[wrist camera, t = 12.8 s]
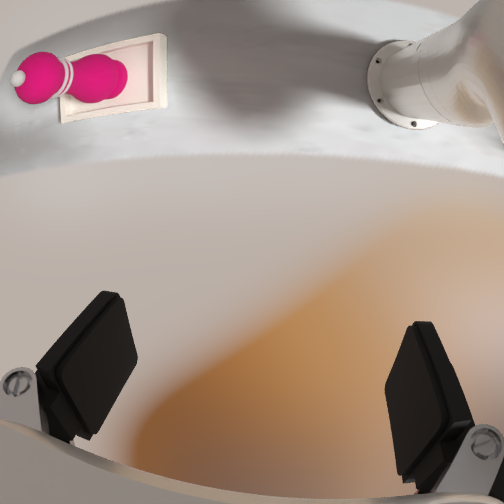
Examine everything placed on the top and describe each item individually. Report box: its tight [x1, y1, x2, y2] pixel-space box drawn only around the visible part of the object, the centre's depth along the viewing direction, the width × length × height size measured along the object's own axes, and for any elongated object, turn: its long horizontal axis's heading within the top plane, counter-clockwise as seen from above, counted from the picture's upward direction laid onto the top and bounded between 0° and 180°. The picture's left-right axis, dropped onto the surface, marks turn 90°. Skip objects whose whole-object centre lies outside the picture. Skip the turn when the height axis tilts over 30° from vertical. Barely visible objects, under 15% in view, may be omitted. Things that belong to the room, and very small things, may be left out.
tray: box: [60, 33, 167, 123], centre depth 39 cm, size 18×11×2 cm, turn 90°
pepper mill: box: [10, 52, 128, 104], centre depth 30 cm, size 7×7×20 cm
